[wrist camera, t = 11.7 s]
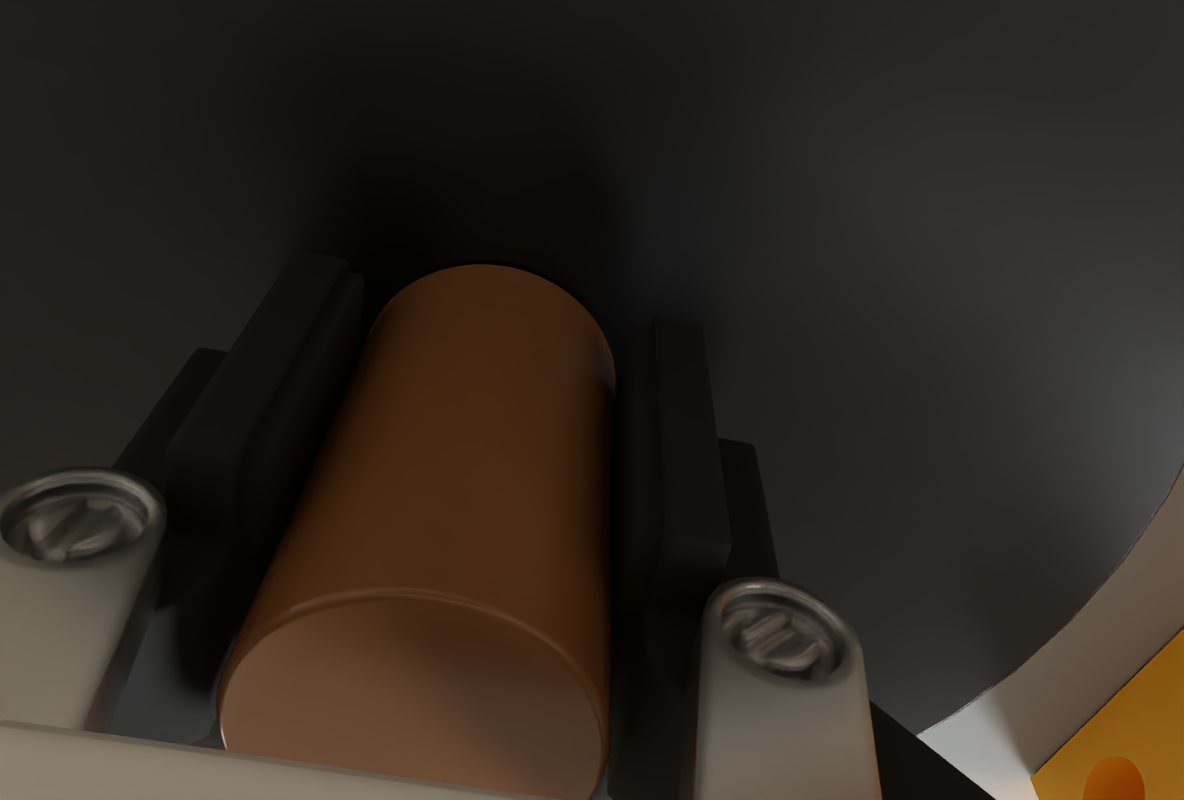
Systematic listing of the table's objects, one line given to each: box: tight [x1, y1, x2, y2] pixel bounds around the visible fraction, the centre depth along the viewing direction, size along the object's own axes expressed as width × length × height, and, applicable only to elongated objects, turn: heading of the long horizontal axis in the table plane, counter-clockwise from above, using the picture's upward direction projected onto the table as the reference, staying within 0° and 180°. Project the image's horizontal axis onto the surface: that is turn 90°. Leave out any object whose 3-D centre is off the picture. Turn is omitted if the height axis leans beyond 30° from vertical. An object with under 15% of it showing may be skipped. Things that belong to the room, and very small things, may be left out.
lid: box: [0, 0, 1184, 800], centre depth 11 cm, size 17×17×7 cm
